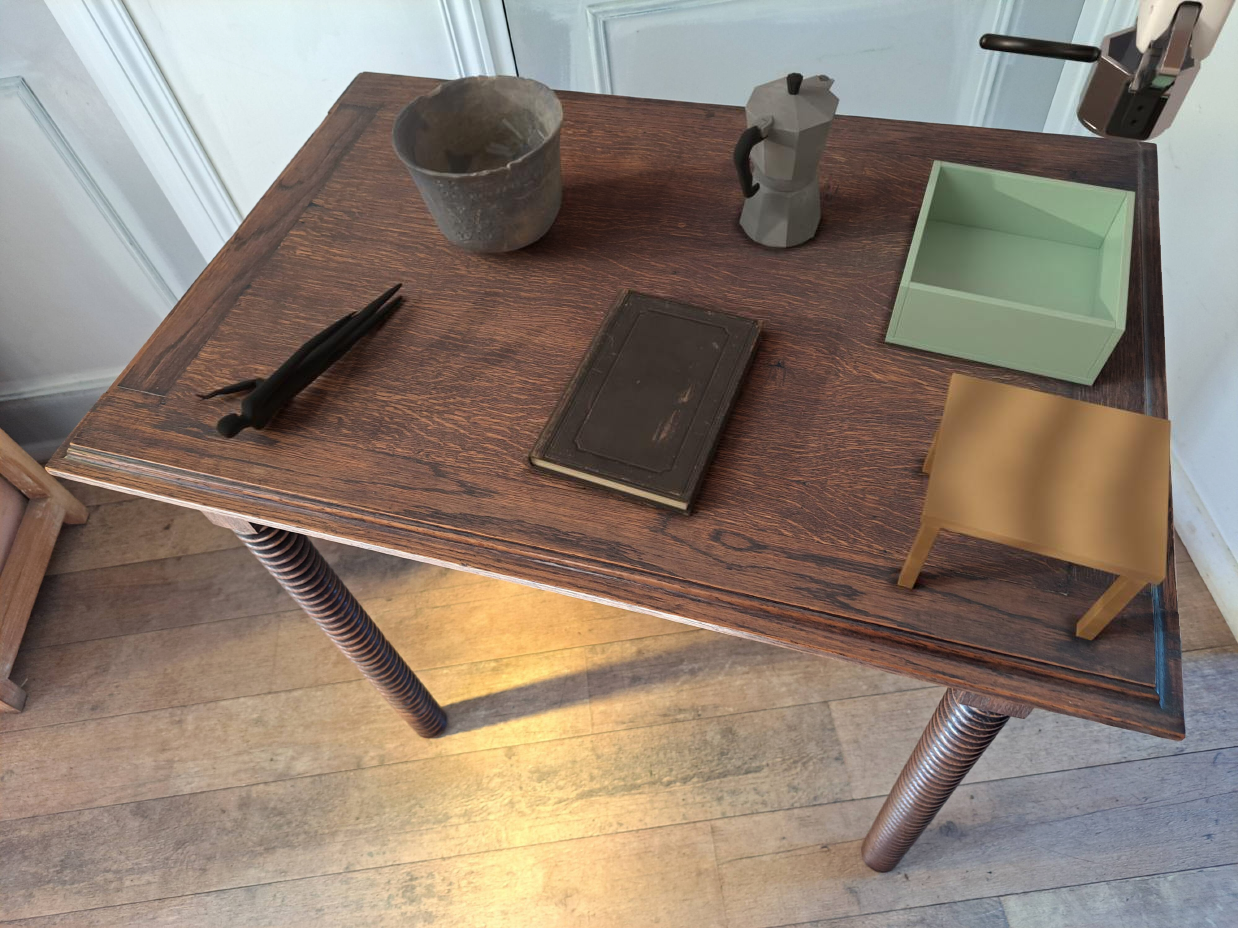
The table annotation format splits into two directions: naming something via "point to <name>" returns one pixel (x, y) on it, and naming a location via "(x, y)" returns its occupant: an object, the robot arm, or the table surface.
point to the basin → (1017, 272)
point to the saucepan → (1104, 74)
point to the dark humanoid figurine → (301, 367)
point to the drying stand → (1050, 485)
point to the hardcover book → (649, 400)
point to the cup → (485, 159)
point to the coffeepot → (784, 158)
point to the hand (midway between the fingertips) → (1128, 106)
